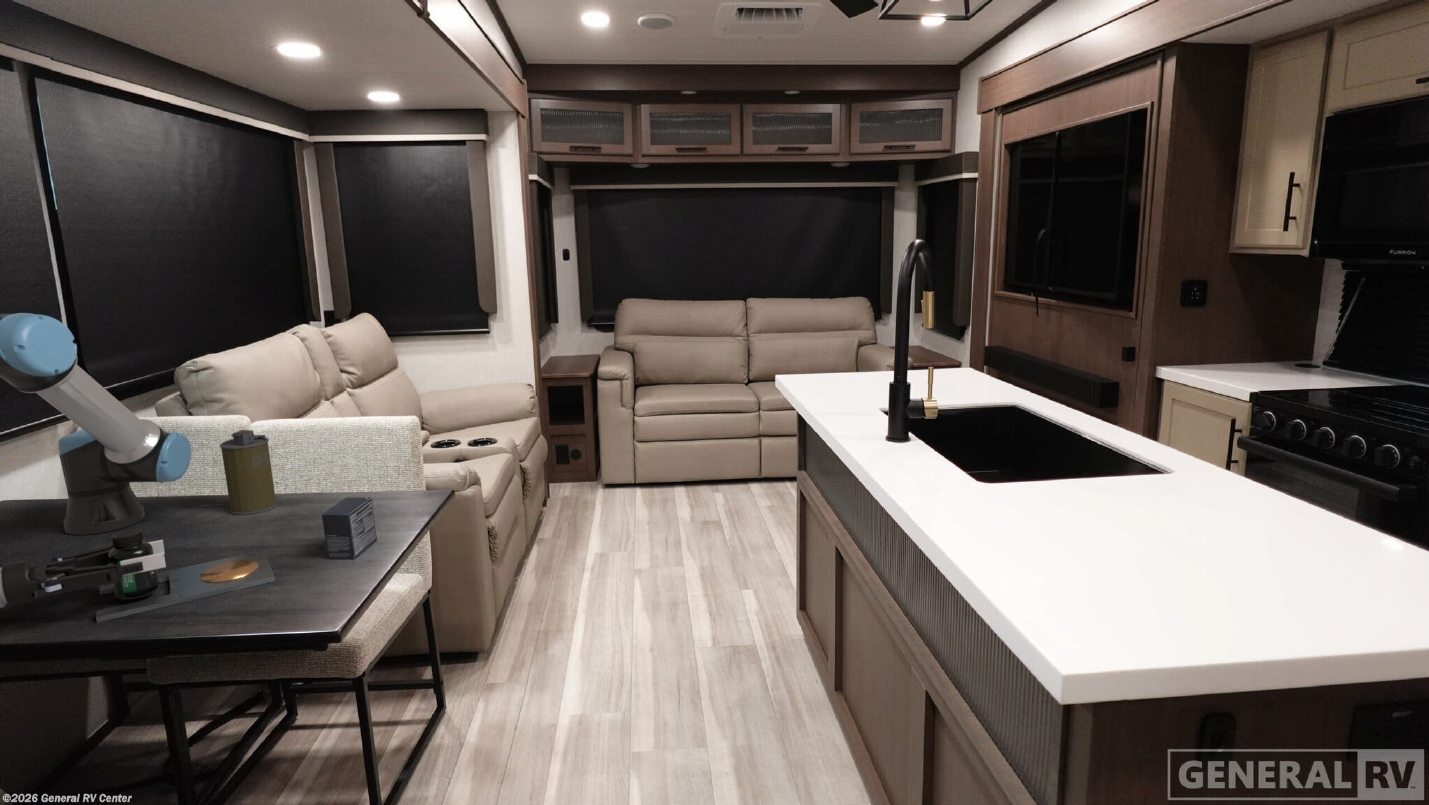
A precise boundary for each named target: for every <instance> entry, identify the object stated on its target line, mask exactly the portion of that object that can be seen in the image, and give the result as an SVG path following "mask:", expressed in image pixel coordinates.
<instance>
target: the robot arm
mask: <svg viewBox="0 0 1429 805" xmlns="http://www.w3.org/2000/svg"><path fill="white" fill-rule="evenodd" d="M74 340H75V337H74V335H73V333H72V332H71V330H70V329H69V328H68V327H67V326H66V325H65V324H64V323H62V322H61V321H60V320H58V319H56V318H54V317H52V316H50V315H44V314H36V313H31V312H30V313H29V312H25V313H24V312H18V313H0V378H1V379H2V380H4V381H5V382H7V383H8V384H9V385H10V386H12V387H13V388H15V389H16V390H17V391H19V392H22V393H25V394H26V393H27V394H34V393H35V394H37V395H38V396H39V397H41V398H42V400H45V401H46V402H47V403H48V404H49V405H50V406H52V407H54V408H55V409H56V410H57V411H59V412H60V413H61V414H63V415H64V416H65V417H66V418H68V419H69V420H70V421H72V422H73V423H74V424H75V425H77V426H78V427H79V428H80V429H82V430H79V431H75V432H72V433H71V432H70V433H68V434H65V435H63V436H62V437H61V438H59V440H58V451H59V454H58V456H59V459H60V464H61V468H62V473H63V474H62V475H63V478H64V483H65V486H66V490H67V491H66V492H67V498H68V500H67V506H66V512H65V517H64V519H63V527H64V532H65V533H67V534H69V535H75V536H76V535H77V536H79V535H80V536H81V535H84V536H85V535H86V536H87V535H95V534H103V533H107V532H112V531H116V530H120V529H124V528H126V527H127V528H128V527H130V526H133V525H134V524H137V523H139V522H141V521H142V520H143V519H144V518H145V510H144V507H143V505H142V504H141V503H140V501H139V499H138V497H137V495H136V494H135V493H134V490H133V489H132V486H131V483H159V484H163V483H171V482H176V481H177V480H180V479H181V478H182V477H184V475H185V474H186V472H187V471H188V468H189V466H190V463H191V459H192V458H191V457H192V448H191V443H190V441H189V439H188V437H187V436H186V435H185V434H184V433H181V432H177V431H172V432H167V431H165V430H164V429H163V428H162V427H160V426H159V425H158V424H157V423H156V422H154V421H152V420H150V419H144V418H141V419H140V418H139V417H138V416H137V415H135V413H133V412H132V411H131V410H130V409H128V408H127V406H125V405H124V404H123V403H122V402H121V401H120V400H118V399H117V398H116V397H115V396H114V395H112V394H111V393H110V392H109V391H108V390H107V389H106V388H104V387H103V386H102V385H101V384H100V383H98V381H97V380H95V379H94V378H93V377H92V376H91V375H90V374H88V373H87V372H86V371H85V370H84V369H83V368H81V367H80V365H78V355H77V354H78V345H77V343H74ZM147 542H148V543H149V544H151V545H152V547H153V552H154V554H153V555H148V556H143V557H139V558H134V559H129V560H124V561H120V563H121V566H120V564H112V565H109V561H108V553H109V552H110V550H111V549H113V548H114V547H113V546H112V545H109V546H103V547H100V548H95V549H90V550H86V551H81V552H76V553H72V554H68V555H67V554H66V555H60V556H59V555H58V556H54V557H51V558H50V562H47V563H45V564H44V565H40V566H38V567H35V566H34V564H33V562H32V560H30V559H24V560H23V559H22V560H18V561H13V562H9V563H5V564H3V565H2V567H0V609H3V608H4V607H5V606H6V605H9V606H17V605H23V604H26V603H31V602H35V601H36V600H37V599H38V594H39V592H43V591H45V595H46V597H52V596H56V595H58V594H62V593H66V592H71V591H72V592H73V591H78V590H84V589H88V588H93V587H100V585H106V584H111V583H116V582H117V583H118V582H122V581H123V578H122V575H123V576H126V575H131V574H135V573H140V572H145V571H150V570H154V569H157V570H159V569H164V568H166V567H167V565H166V558H165V554H166V552H165V546H164V540H163V539H160V540H153V541H147Z"/></svg>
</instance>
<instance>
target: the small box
mask: <svg viewBox="0 0 1429 805" xmlns="http://www.w3.org/2000/svg"><path fill="white" fill-rule="evenodd" d="M321 519H322V525H323V534H324V541H325V549H326V553H327V554H326V556H327V560H356V559H357V558H358V557H360V556H361V555H362V554H363V553H364V552H366V550H368V549H369V548H370V547H371V546H372V545H373V544H375V543H376V542H377V541H378V537H377V529H376V522H375V514H374V504H373V498H372V496H367V497H364V496H363V497H361V496H360V497H357V496H356V497H353V496H352V497H350V496H349V497H344V498H343V499H342V500H340V501H339V502H338V503H336V504H334V505H333V506H332V507H330V508H328V509H327V510H326V511H325V512H323V513H322V514H321Z"/></svg>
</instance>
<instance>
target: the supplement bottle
mask: <svg viewBox="0 0 1429 805" xmlns="http://www.w3.org/2000/svg"><path fill="white" fill-rule="evenodd" d="M110 539H111V546H113V547H114V548H113V549H111V550H110V552H109V553H108V561H109V564H108V565H112V564H120V566H121V563H120V561H124V560H129V559H134V558H139V557H143V556H148V555H153V554H154V552H153V547H152V545H151V544H149V543H148V542H149V541H145V539H146V538H145V535H144V531H143V529H142V528H129V529H123V530H120V531H117V532H114V533H112V535H111V536H110ZM157 573H158V569H154V570H150V571H145V572H140V573H135V574H131V575H126V576H123V575H122V578H123V581H122V582H118V583H117V582H116V583H113V587H114V595H115V597H116V598H118V599H119V600H133V599H134V600H135V599H138V598H143V597H145V596H146V597H147V596H148V595H151V594H153V593H155V592H156V591H157V590H158V589H159V587H160V583H159V580H158V574H157Z"/></svg>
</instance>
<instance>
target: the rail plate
mask: <svg viewBox="0 0 1429 805" xmlns="http://www.w3.org/2000/svg"><path fill="white" fill-rule="evenodd" d="M157 574H158V580H159V582H160V583H163V582H169V592H170V594H166V595H161V596H158V597H157V596H156V597H153V598H147V599H144V600H139V601H135V602H131V603H127V604H122V605H117V606H113V607H108V608H104V609H99V610H96V614H95V615H96V616H95V618H96V623H101V622H105V621H111V620H115V619H119V618H123V617H127V616H131V615H134V614H135V615H137V614H140V613H143V612H144V613H145V612H149V611H152V610H153V611H154V610H157V609H162V608H165V607H170V606H174V605H178V604H183V603H186V602H190V601H195V600H196V601H197V600H200V599H204V598H208V597H212V596H216V595H217V596H218V595H221V594H225V593H229V592H234V591H238V590H241V589H246V588H250V587H255V586H259V585H263V584H268V582H269V583H273V582H275V581H276V578H275V574H274V572H273V569H272V566H271V564H270V562H269V558H268V556H267V554H266V550H259V551H255V552H249V553H245V554H240V555H236V556H235V555H234V556H231V557H230V556H229V557H226V558H225V557H224V558H221V559H215V560H211V561H206V562H203V563H202V562H201V563H198V564H193V565H188V566H183V567H178V568H173V569H170V570H165V571H159V572H157ZM98 592H99V596H103V595H102V594H105V595H109V594H111V593H110V592H114V587H113V583H111V584H106V585H100V586H99V590H98ZM108 593H109V594H108ZM114 593H115V592H114Z"/></svg>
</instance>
